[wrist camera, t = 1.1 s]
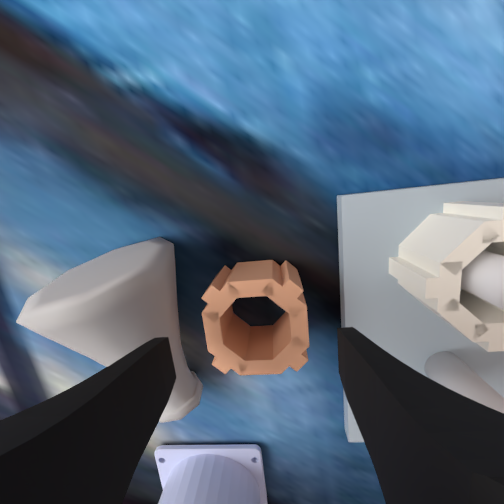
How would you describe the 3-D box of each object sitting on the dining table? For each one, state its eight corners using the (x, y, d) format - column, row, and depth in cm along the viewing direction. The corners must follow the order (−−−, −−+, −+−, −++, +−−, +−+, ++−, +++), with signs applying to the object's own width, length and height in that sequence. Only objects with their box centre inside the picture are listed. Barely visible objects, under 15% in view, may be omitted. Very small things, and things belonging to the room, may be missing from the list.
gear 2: (524, 254, 13) (611, 276, 10) (445, 323, 14) (497, 363, 11) (453, 190, 13) (518, 189, 9) (377, 265, 14) (410, 289, 11)
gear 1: (303, 335, 16) (311, 372, 13) (224, 339, 17) (212, 376, 14) (297, 257, 15) (304, 276, 12) (213, 264, 16) (197, 284, 12)
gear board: (534, 425, 17) (641, 522, 12) (344, 428, 18) (371, 516, 13) (576, 170, 13) (755, 156, 8) (336, 195, 14) (369, 197, 9)
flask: (170, 263, 10) (245, 422, 14) (172, 224, 17) (222, 339, 20) (-32, 341, 9) (111, 491, 13) (56, 266, 15) (133, 379, 19)
